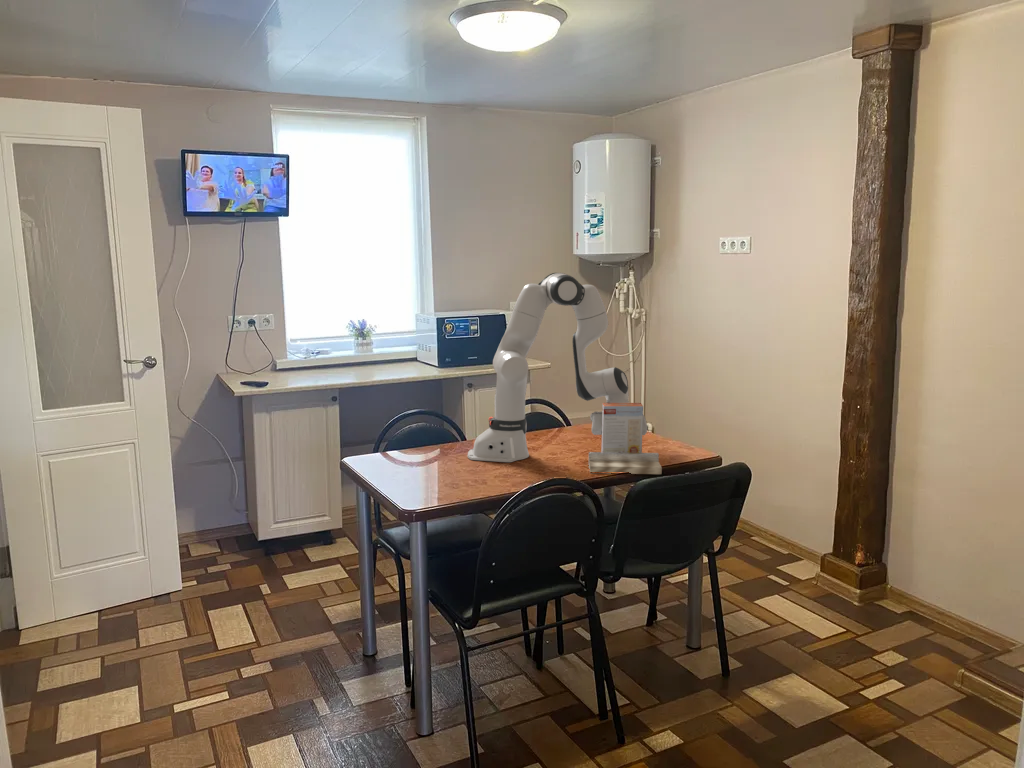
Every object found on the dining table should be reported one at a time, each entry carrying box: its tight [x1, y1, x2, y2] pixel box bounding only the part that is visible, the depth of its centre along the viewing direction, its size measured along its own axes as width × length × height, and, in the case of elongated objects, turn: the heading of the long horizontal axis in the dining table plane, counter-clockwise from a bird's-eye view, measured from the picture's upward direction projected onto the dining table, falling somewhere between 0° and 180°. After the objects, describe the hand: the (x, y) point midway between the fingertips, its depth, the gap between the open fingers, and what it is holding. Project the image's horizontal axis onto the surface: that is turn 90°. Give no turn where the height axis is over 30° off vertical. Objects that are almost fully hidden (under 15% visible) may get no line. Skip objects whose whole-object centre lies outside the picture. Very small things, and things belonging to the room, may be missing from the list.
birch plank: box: [588, 460, 663, 475], centre depth 265 cm, size 24×7×2 cm, turn 88°
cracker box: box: [600, 402, 644, 453], centre depth 276 cm, size 14×6×21 cm, turn 89°
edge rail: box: [588, 451, 660, 463], centre depth 270 cm, size 24×2×5 cm, turn 88°
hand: (620, 443), depth 281 cm, fingers closed, pressing on cracker box
